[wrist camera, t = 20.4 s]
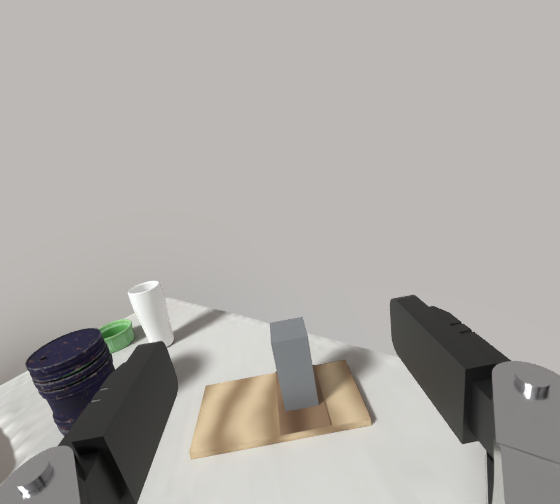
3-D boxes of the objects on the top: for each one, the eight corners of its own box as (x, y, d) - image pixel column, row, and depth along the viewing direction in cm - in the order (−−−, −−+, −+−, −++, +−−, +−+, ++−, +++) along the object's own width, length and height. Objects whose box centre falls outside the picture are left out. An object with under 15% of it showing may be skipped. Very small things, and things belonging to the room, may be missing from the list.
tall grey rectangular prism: (312, 379, 46) (302, 316, 42) (318, 405, 41) (307, 336, 37) (282, 385, 46) (269, 322, 42) (285, 411, 41) (271, 343, 37)
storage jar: (114, 390, 54) (84, 323, 49) (143, 406, 48) (114, 333, 44) (55, 434, 46) (13, 360, 41) (83, 459, 41) (39, 377, 36)
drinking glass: (176, 331, 70) (158, 277, 66) (179, 345, 65) (160, 287, 60) (148, 342, 68) (127, 287, 63) (148, 357, 62) (126, 297, 57)
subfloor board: (345, 365, 50) (345, 358, 49) (371, 425, 38) (370, 417, 38) (207, 391, 49) (205, 384, 49) (191, 459, 38) (188, 451, 37)
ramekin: (144, 337, 71) (138, 322, 70) (108, 359, 64) (101, 343, 63) (125, 330, 76) (120, 316, 75) (90, 350, 69) (84, 335, 68)
